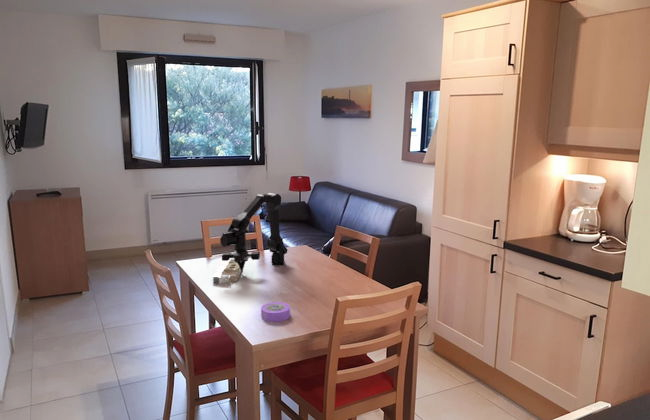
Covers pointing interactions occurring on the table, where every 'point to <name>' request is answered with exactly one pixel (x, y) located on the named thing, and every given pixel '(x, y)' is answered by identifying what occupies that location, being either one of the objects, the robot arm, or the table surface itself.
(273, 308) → the masking tape
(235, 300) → the table surface
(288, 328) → the table surface
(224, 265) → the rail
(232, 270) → the electrical outlet
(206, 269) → the table surface
